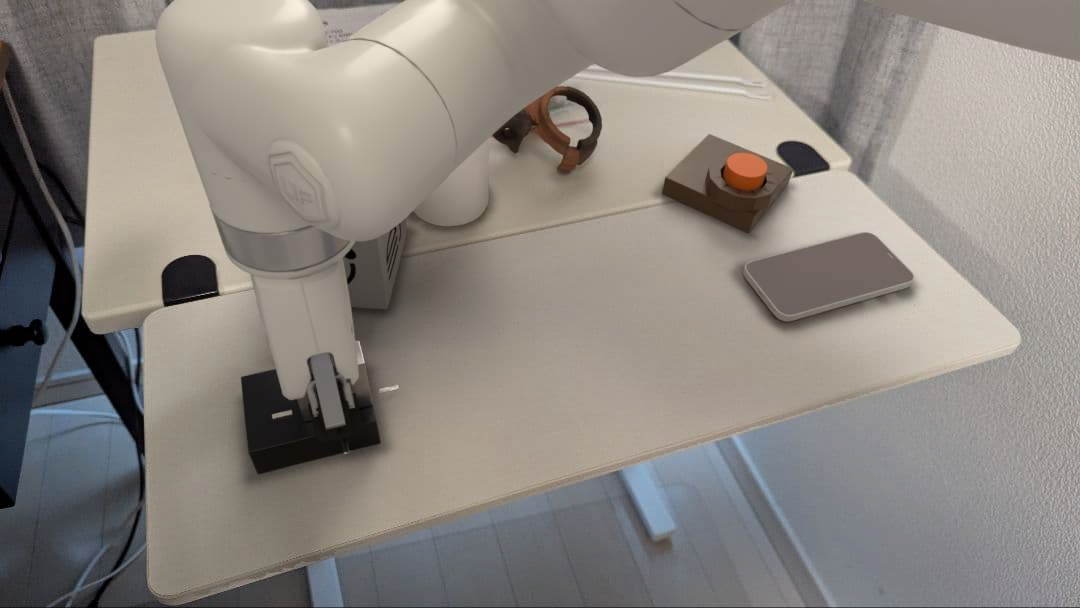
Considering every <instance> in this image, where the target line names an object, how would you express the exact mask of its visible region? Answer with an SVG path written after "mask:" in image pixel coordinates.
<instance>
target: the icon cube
mask: <svg viewBox="0 0 1080 608" xmlns="http://www.w3.org/2000/svg"><path fill="white" fill-rule="evenodd" d="M407 234H408V231H407V223H406V218H405V219H404V220H403V221H402V222H401V223H399V224H398V225H397V226H396V227H394V228H393V229H392V230H390V231H389V232H387V233H385V234H384V235H382V236H380V237H378V238H375V239H372V240H368V241H355V243H354V245H353V246H352V248H351V249H350V251H349V252H348V253H347V254H346V255H345V256H344V257H343V262H344V268H345V274H346V279H347V285H348V291H349V297H350V304H351V308H356V309H357V308H360V309H373V310H385V311H387V310H388V309H389V306H390V301H391V299H392V294H393V290H394V287H395V282H396V278H397V274H398V269H399V266H400V262H401V259H402V255H403V250H404V246H405V243H406V239H407Z"/></svg>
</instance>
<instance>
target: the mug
mask: <svg viewBox="0 0 1080 608" xmlns="http://www.w3.org/2000/svg"><path fill="white" fill-rule="evenodd" d="M489 138H490V137H489ZM489 138H488V139H487V140H486V141H485V142H484V143H483V144H482V145H481V146H480V147H479V148H477V149H476V150H475V151H474V152H473V153H472V154H471V155H470V156H469V157H468V158H467V159H466V160H465V161H464V162H463V163H461V164H460V165H459V166H458V167H457V168H456V169H455V170H454V171H453V172H452V173H451V174H450V175H449V176H448V177H447V178H446V179H445V180H444V182H443V183H442V184H440V185H439V186H438V187H437V188H436V189H435V190H434V191H433V192H432V193H431V194H430V195H429V196H428V197H427V198H426V199H425V200H424V201H423V202H422V203H421V204H420V205H419V206H418V207H417V208H416V209H415V210H414V211H413V212H412V213H414V214H415V215H416V217H418V218H419V219H420V220H422V222H423V221H424V222H425V223H427V224H431V225H434V226H438V227H459V226H463V225H467V224H469V223H472V222H474V221H476V220H477V219H478V218H480V217H481V216H482V215H483V214H484V213H485V211H486V210H487V208H488V206H489V203H490V181H489V179H490V173H489V171H490V168H489V167H490V165H489V164H490V163H489V162H490V161H489V160H490V159H489V158H490V157H489V156H490V155H489V152H490V151H489V148H490V147H489V143H490V141H489V140H490V139H489Z"/></svg>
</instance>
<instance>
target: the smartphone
mask: <svg viewBox="0 0 1080 608" xmlns="http://www.w3.org/2000/svg"><path fill="white" fill-rule="evenodd" d="M742 273H743V277H744V279H745V280H746V281H747V282H748V283H749V285H750V286H751V287H752V289H753V290H754V291H755V292H756V294H757V295H758V296H759V297H760V299H761V300H762V301H763V303H764V304H765V305H766V307H767V309H769V311H770V312H771V313H772V314H773V316H774V317H775V318H776V319H778V320H780V321H782V322H793V321H797V320H800V319H804V318H808V317H811V316H814V315H818V314H821V313H825V312H828V311H831V310H834V309H838V308H842V307H846V306H849V305H852V304H855V303H859V302H862V301H863V302H864V301H866V300H870V299H873V298H877V297H880V296H883V295H887V294H890V293H894V292H897V291H902V290H904V289H908V288H910V287H911V286H912V283H914V280H915V274H914V272H913V271H912V270H911V269H910V268H909V267H908V266H907V265H906V264H905V263H904V262H903V261H902V260H901V258H899V257H898V256H897V255H896V254H895V253H894V252H893V251H892V250H891V248H889V247H888V246H887V245H886V244H885V243H884V242H883V241H882V240H881V238H879V237H878V236H877V235H876V234H875V233H872V232H869V231H862V232H858V233H854V234H853V233H852V234H850V235H845V236H842V237H837V238H834V239H831V240H827V241H822V242H819V243H815V244H811V245H807V246H803V247H799V248H795V249H791V250H787V251H783V252H780V253H776V254H772V255H769V256H765V257H761V258H756V259H752V260H750V261H748V262H746V263H745V265H744V268H743V271H742Z"/></svg>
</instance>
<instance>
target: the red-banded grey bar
mask: <svg viewBox="0 0 1080 608" xmlns="http://www.w3.org/2000/svg"><path fill="white" fill-rule="evenodd" d="M355 342H356V351H357V361H358V371H359V378H358V380H357V381H356V382H355V384H354V385H353V386H352V384H351V383H350V387H351V391H352V393H356V397H357V401H358V406H359V408H363V407H367V406H371V405H373V406H374V403H373V398H372V392H371V387H370V382H369V377H368V372H367V367H366V361H365V358H364V353H363V349H362V346H361V341H360V340H355ZM334 366H335V365H334ZM312 371H313V370H312ZM337 387H338V391H339V392H340V391H343V387H342V383H341V382H337ZM315 388H316V387H315ZM316 392H317V388H316ZM343 394H344V392H343ZM317 396H318V392H317ZM318 399H319V397H318ZM297 401H298V404H299V407H300V411H301V414H302V417H303V420H304V422H307V421H311V420H312V419H311V415H310V412H309V408H308V404H310V401H309V397H308V393H307V391H306V394H305V396H304V397H303V398H299V399H297Z"/></svg>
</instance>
